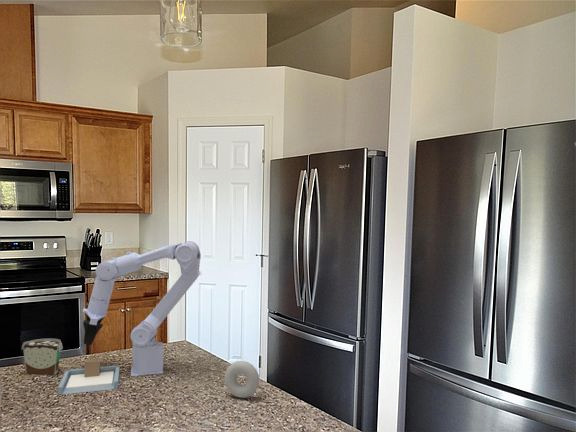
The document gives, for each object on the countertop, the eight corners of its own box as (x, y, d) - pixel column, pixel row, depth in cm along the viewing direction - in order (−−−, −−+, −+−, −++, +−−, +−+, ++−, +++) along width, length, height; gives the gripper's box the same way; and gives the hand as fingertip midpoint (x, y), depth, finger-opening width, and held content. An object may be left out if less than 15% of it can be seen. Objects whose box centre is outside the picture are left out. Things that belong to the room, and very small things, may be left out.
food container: (70, 370, 144) (71, 338, 144) (59, 377, 138) (59, 344, 138) (34, 368, 145) (34, 337, 145) (21, 375, 139) (21, 342, 139)
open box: (119, 373, 142) (119, 365, 142) (117, 390, 129) (117, 381, 129) (65, 378, 137) (65, 370, 137) (58, 396, 124) (58, 387, 124)
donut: (261, 397, 125) (261, 360, 125) (256, 402, 122) (257, 364, 121) (227, 392, 128) (227, 357, 127) (222, 397, 124) (222, 361, 124)
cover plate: (113, 373, 140) (113, 356, 140) (112, 385, 130) (112, 367, 130) (71, 377, 136) (71, 360, 136) (66, 390, 127) (66, 371, 127)
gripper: (89, 289, 148) (78, 330, 148) (84, 301, 134) (71, 346, 134) (112, 294, 150) (101, 333, 150) (109, 306, 136) (97, 349, 136)
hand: (88, 339), depth 142 cm, fingers open, 7 cm apart
